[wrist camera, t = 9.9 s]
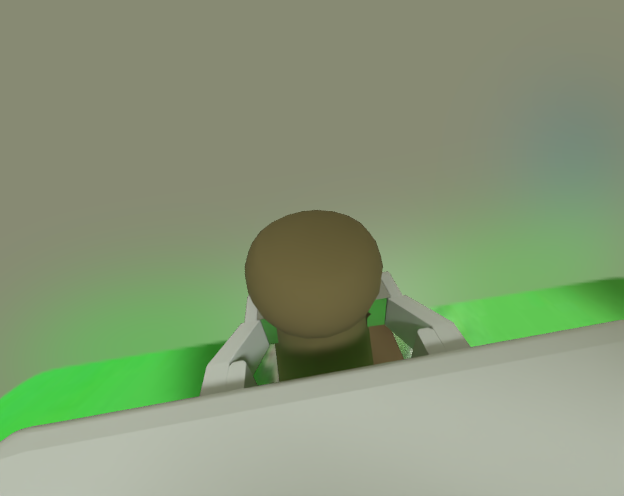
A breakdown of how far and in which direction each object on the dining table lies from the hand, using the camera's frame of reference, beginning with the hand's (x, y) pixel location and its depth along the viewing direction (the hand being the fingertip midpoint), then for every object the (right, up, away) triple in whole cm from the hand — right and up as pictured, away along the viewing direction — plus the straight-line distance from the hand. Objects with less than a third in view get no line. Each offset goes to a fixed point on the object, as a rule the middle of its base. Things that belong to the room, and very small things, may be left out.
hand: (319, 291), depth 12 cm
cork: (+1, -6, +4) cm, 7 cm away
